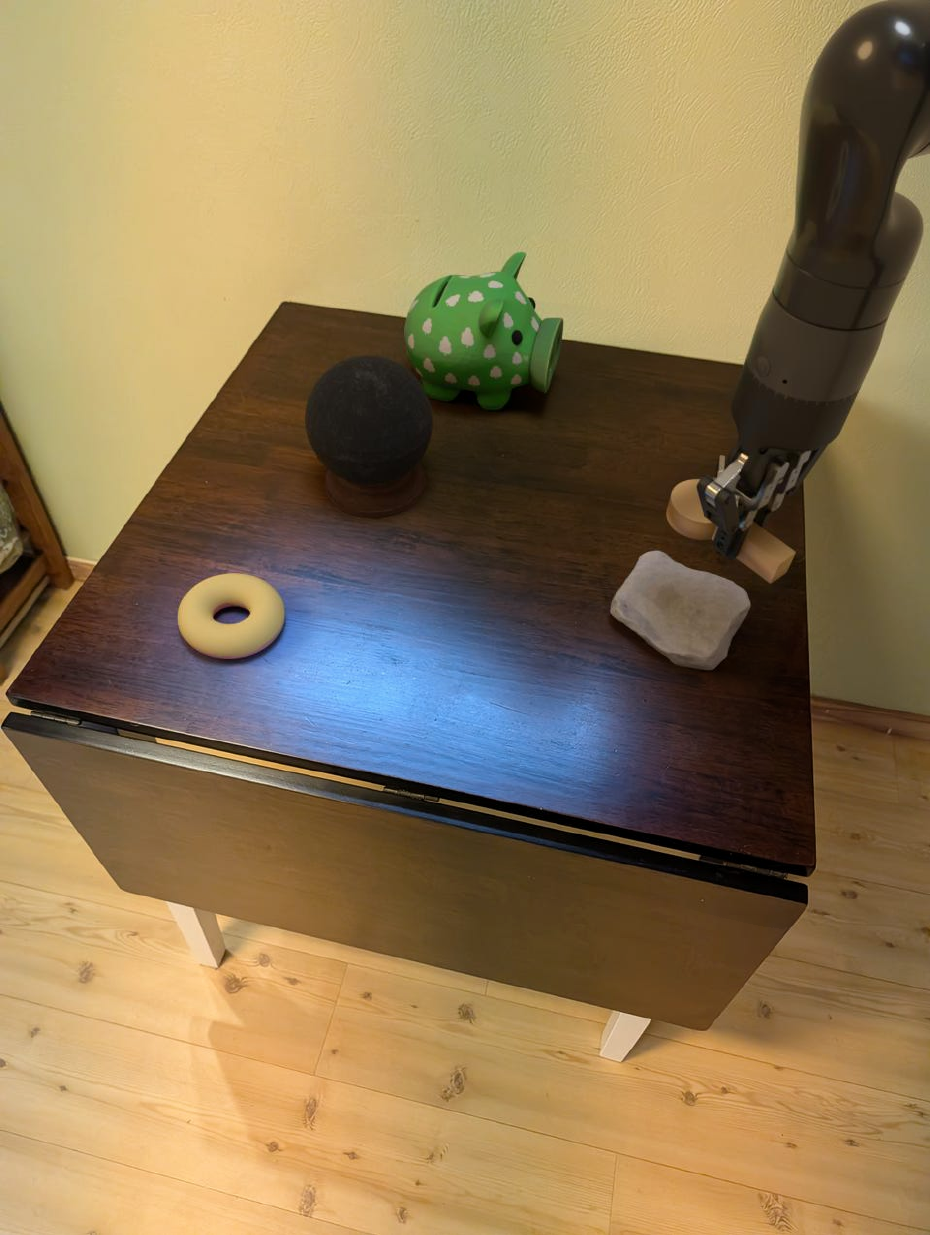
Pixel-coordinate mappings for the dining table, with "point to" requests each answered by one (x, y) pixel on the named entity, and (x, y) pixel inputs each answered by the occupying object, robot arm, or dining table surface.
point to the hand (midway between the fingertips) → (735, 544)
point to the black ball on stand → (370, 435)
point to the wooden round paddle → (689, 521)
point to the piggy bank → (481, 337)
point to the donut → (231, 637)
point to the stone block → (681, 610)
